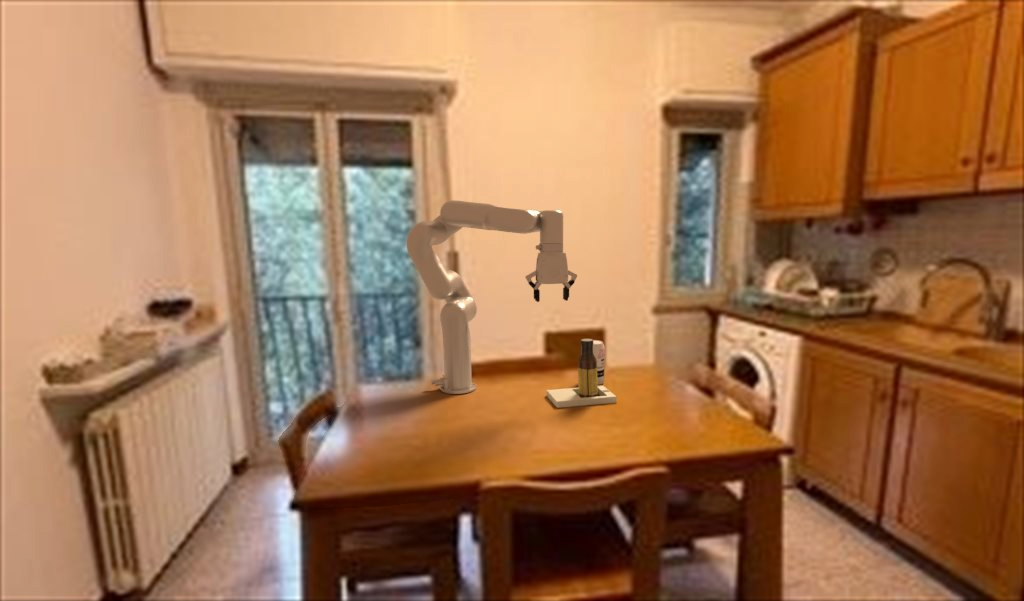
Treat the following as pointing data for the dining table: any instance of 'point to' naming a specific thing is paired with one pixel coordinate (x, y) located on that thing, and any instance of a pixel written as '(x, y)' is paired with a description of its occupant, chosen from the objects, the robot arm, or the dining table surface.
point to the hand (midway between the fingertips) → (551, 300)
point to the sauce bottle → (587, 370)
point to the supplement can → (599, 359)
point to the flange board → (571, 397)
